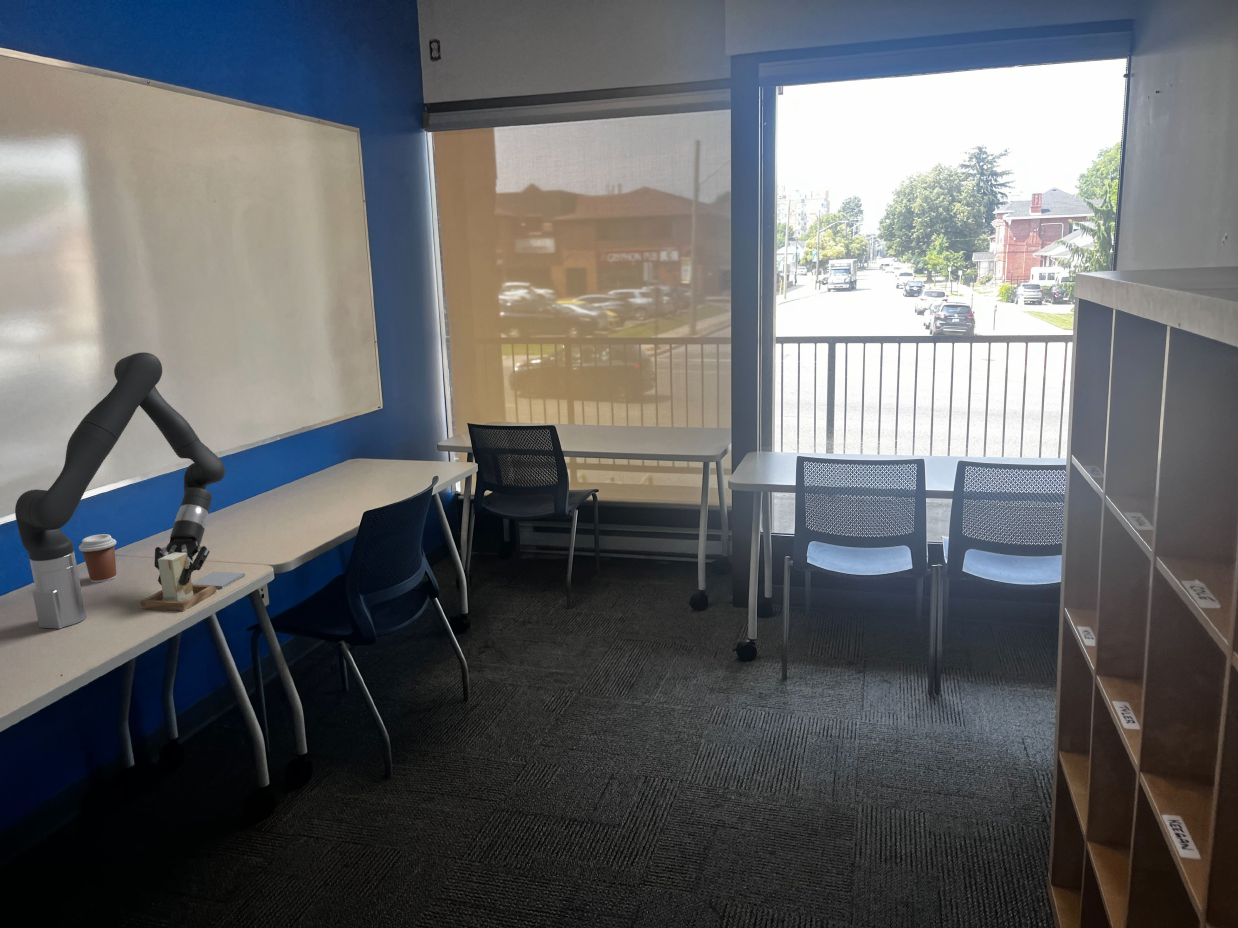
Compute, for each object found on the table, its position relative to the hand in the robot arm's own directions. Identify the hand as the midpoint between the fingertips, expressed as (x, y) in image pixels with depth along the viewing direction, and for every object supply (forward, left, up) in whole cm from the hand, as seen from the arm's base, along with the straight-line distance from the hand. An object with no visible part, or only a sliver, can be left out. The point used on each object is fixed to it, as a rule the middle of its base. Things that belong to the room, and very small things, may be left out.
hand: (172, 584), depth 226 cm
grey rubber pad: (+16, -1, -5) cm, 17 cm away
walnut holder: (+2, 0, -5) cm, 6 cm away
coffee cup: (+14, +34, -5) cm, 37 cm away
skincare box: (+2, 0, -5) cm, 6 cm away
